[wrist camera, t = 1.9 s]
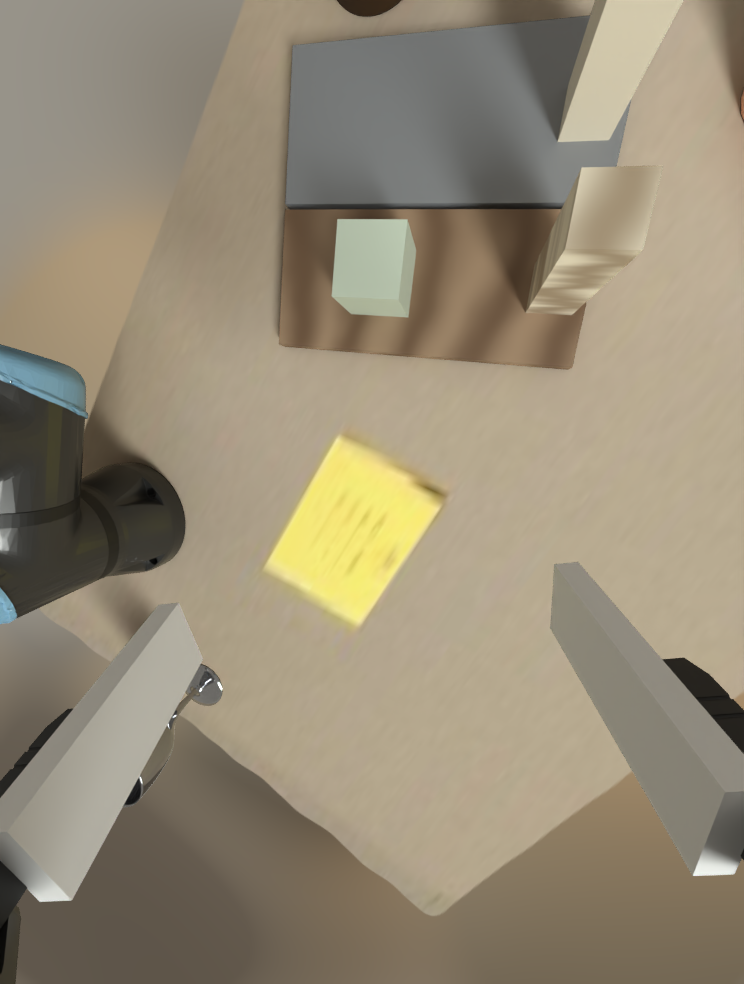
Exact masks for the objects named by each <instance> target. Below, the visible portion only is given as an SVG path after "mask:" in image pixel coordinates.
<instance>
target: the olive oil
mask: <svg viewBox="0 0 744 984" xmlns="http://www.w3.org/2000/svg"><path fill="white" fill-rule="evenodd" d="M400 1H401V0H338V2H339V3H340V4H341V5H342V6H343V7H344V8H345V9H346V10H348V11H349V12H351V13H353V14H356V15H359V16H374V15H378V14H381V13H384V12H386V11H388V10H389V9H391V8H393V7H394V6H395V5H397V4H398V3H399V2H400Z"/></svg>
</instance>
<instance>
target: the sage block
mask: <svg viewBox="0 0 744 984" xmlns="http://www.w3.org/2000/svg"><path fill="white" fill-rule="evenodd" d="M415 258H416V248H415V244H414V241H413V237H412V233H411V230H410V226H409V223H408V219H337V232H336V246H335V259H334V272H333V285H332V297H333V298H334V299H335V300H336V301H337V302H338V303H340V304H341V305H342V306H343V307H344V308H345V309H346V310H347V311H348V312H349V313H351V314H358V315H375V316H392V317H408V316H409V308H410V299H411V291H412V283H413V274H414V266H415Z"/></svg>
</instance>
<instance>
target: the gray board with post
mask: <svg viewBox="0 0 744 984" xmlns="http://www.w3.org/2000/svg"><path fill="white" fill-rule="evenodd" d="M683 1H684V0H595V3H594V6H593V9H592V12H591V15H590V16H580V17H570V18H560V19H550V20H540V21H530V22H520V23H510V24H500V25H491V26H481V27H471V28H461V29H451V30H441V31H431V32H421V33H411V34H401V35H391V36H381V37H371V38H361V39H351V40H341V41H331V42H321V43H311V44H301V45H293V52H292V73H291V95H290V116H289V138H288V159H287V181H286V202H285V204H286V205H287V206H288V208H289V209H290V210H310V209H562V207H563V205H564V203H565V201H566V199H567V197H568V195H569V193H570V191H571V189H572V187H573V184H574V182H575V180H576V178H577V176H578V174H579V172H580V170H581V168H582V167H616V166H617V162H618V157H619V153H620V148H621V143H622V139H623V134H624V130H625V125H626V121H627V116H628V112H629V107H630V103H631V98H632V96H633V94H634V92H635V91H636V89H637V87H638V85H639V83H640V81H641V79H642V77H643V76H644V74H645V72H646V70H647V68H648V66H649V64H650V62H651V61H652V59H653V57H654V55H655V53H656V51H657V49H658V47H659V46H660V44H661V42H662V40H663V38H664V36H665V34H666V32H667V31H668V29H669V27H670V25H671V23H672V21H673V19H674V17H675V16H676V14H677V12H678V10H679V8H680V6H681V4H682V2H683Z"/></svg>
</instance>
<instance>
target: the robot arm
mask: <svg viewBox="0 0 744 984" xmlns="http://www.w3.org/2000/svg"><path fill="white" fill-rule="evenodd" d="M85 400H86V387H85V382H84V380H83V378H82V376H81V375H80V374H79V373H78V372H77V371H76V370H75V369H73V368H71V367H69V366H67V365H65V364H62V363H59V362H56V361H53V360H51V359H47V358H44V357H41V356H38V355H34V354H31V353H28V352H25V351H21V350H17V349H15V348H11V347H8V346H4V345H1V344H0V624H2V623H9V622H11V621H13V620H15V619H16V618H18V617H20V616H23V615H25V614H27V613H29V612H31V611H33V610H35V609H37V608H40V607H42V606H44V605H46V604H48V603H50V602H52V601H54V600H57V599H59V598H61V597H63V596H65V595H67V594H69V593H71V592H74V591H76V590H78V589H80V588H82V587H84V586H86V585H88V584H91V583H93V582H95V581H97V580H99V579H101V578H104V577H106V576H114V575H123V574H131V573H140V572H146V571H149V570H152V569H154V568H157V567H159V566H161V565H163V564H165V563H166V562H168V561H170V560H171V559H172V558H173V557H174V556H175V555H176V554H177V552H178V551H179V549H180V547H181V545H182V542H183V539H184V534H185V517H184V512H183V508H182V505H181V502H180V500H179V498H178V496H177V494H176V492H175V491H174V489H173V488H172V486H171V485H170V484H169V482H168V481H167V480H166V479H165V478H164V477H163V476H162V475H160V474H159V473H158V472H156V471H155V470H153V469H152V468H150V467H148V466H145V465H142V464H138V463H122V464H115V465H110V466H106V467H104V468H101V469H99V470H97V471H96V472H94V473H92V474H90V475H88V476H86V477H85V478H83V479H81V476H82V459H83V441H84V424H85V419H87V418H88V413H87V412H86V409H85V408H86V406H85V405H86V401H85ZM550 628H551V630H552V632H553V634H554V635H555V637H556V639H557V641H558V642H559V644H560V646H561V648H562V649H563V651H564V653H565V655H566V656H567V658H568V660H569V662H570V663H571V665H572V667H573V669H574V670H575V672H576V674H577V675H578V677H579V679H580V681H581V682H582V684H583V686H584V688H585V689H586V691H587V693H588V695H589V696H590V698H591V700H592V702H593V703H594V705H595V707H596V709H597V710H598V712H599V714H600V715H601V717H602V719H603V721H604V722H605V724H606V726H607V728H608V729H609V731H610V733H611V735H612V736H613V738H614V740H615V742H616V743H617V745H618V747H619V749H620V750H621V752H622V754H623V756H624V757H625V759H626V761H627V762H628V764H629V766H630V768H631V769H632V771H633V773H634V774H635V776H636V778H637V780H638V782H639V783H640V785H641V787H642V789H643V790H644V792H645V794H646V796H647V797H648V799H649V801H650V802H651V804H652V806H653V808H654V809H655V811H656V813H657V815H658V816H659V818H660V820H661V822H662V823H663V825H664V827H665V828H666V830H667V832H668V834H669V836H670V837H671V839H672V841H673V842H674V844H675V846H676V848H677V849H678V851H679V853H680V855H681V856H682V858H683V860H684V862H685V863H686V865H687V867H688V869H689V870H690V872H691V874H692V875H693V876H701V875H727V874H735V871H736V869H737V867H738V865H739V863H740V861H741V859H743V860H744V710H743V709H742V708H741V707H740V706H739V705H738V704H737V703H736V702H735V701H734V700H733V699H730V697H729V694H728V693H727V692H726V691H725V690H724V689H723V688H722V687H721V686H720V685H719V684H718V683H717V682H716V681H715V680H714V679H713V678H712V677H711V676H710V675H709V674H708V673H706V672H705V671H703V670H702V669H700V668H699V667H697V666H696V665H694V664H693V663H691V662H690V661H688V660H687V659H685V658H675V659H661V658H660V656H659V655H658V654H657V653H656V652H655V651H654V650H653V648H652V647H651V646H650V645H649V644H648V643H647V641H646V640H645V639H644V638H643V637H642V636H641V634H640V633H639V632H638V631H637V630H636V629H635V627H634V626H633V625H632V624H631V623H630V622H629V621H628V619H627V618H626V617H625V616H624V615H623V614H622V612H621V611H620V610H619V609H618V608H617V607H616V605H615V604H614V603H613V602H612V601H611V600H610V598H609V597H608V596H607V595H606V594H605V593H604V592H603V590H602V589H601V588H600V587H599V586H598V585H597V583H596V582H595V581H594V580H593V579H592V578H591V576H590V575H589V574H588V573H587V572H586V571H585V569H584V568H583V567H582V566H581V565H580V564H579V563H578V562H572V563H563V564H554V576H553V592H552V608H551V624H550ZM202 660H203V658H202V655H201V653H200V651H199V648H198V646H197V644H196V641H195V639H194V637H193V634H192V632H191V630H190V628H189V625H188V623H187V621H186V618H185V616H184V614H183V611H182V609H181V607H180V604H179V603H171V604H161V605H158V606H157V607H156V609H155V610H154V611H153V612H152V613H151V615H150V616H149V617H148V618H147V620H146V621H145V622H144V623H143V624H142V626H141V627H140V628H139V629H138V631H137V632H136V633H135V634H134V635H133V637H132V638H131V639H130V640H129V642H128V643H127V644H126V645H125V646H124V648H123V649H122V650H121V651H120V653H119V654H118V655H117V656H116V657H115V659H114V660H113V661H112V662H111V664H110V665H109V666H108V667H107V668H106V670H105V671H104V672H103V673H102V675H101V676H100V677H99V678H98V679H97V681H96V682H95V683H94V684H93V686H92V687H91V688H90V689H89V690H88V692H87V693H86V694H85V696H84V697H83V698H82V699H81V700H80V702H79V703H78V704H77V705H76V707H75V708H74V709H67V710H66V711H65V712H64V713H63V714H61V715H60V716H59V717H58V718H57V719H55V720H54V721H53V722H52V723H51V724H50V725H48V726H47V727H46V728H45V729H44V731H43V732H42V733H41V734H40V735H39V736H38V738H37V739H36V740H35V741H34V742H33V743H32V745H31V746H30V747H29V750H28V752H25V753H24V754H23V755H22V756H21V758H20V759H19V760H18V761H17V762H16V763H15V765H14V768H13V769H11V770H10V771H9V772H8V773H7V774H6V775H5V776H4V777H3V779H2V780H1V781H0V984H15V982H16V970H17V958H18V946H19V934H20V921H21V916H20V911H19V908H18V907H17V906H16V904H17V903H18V901H19V900H20V898H21V896H22V895H23V893H24V892H25V890H26V889H28V890H29V891H30V892H31V893H32V894H33V895H34V896H35V897H36V898H37V899H38V900H39V901H40V902H43V901H68V900H72V899H73V897H74V895H75V893H76V891H77V889H78V888H79V886H80V884H81V882H82V880H83V879H84V877H85V875H86V873H87V871H88V869H89V868H90V866H91V864H92V862H93V860H94V858H95V857H96V855H97V853H98V851H99V849H100V847H101V846H102V844H103V842H104V840H105V838H106V836H107V835H108V833H109V831H110V829H111V827H112V825H113V824H114V822H115V820H116V818H117V816H118V814H119V813H120V811H121V809H122V807H123V805H124V803H125V802H126V800H127V798H128V796H129V794H130V792H131V791H132V789H133V787H134V785H135V783H136V781H137V780H138V778H139V776H140V774H141V772H142V770H143V769H144V767H145V765H146V763H147V761H148V759H149V758H150V756H151V754H152V752H153V750H154V748H155V747H156V745H157V743H158V741H159V739H160V737H161V736H162V734H163V732H164V730H165V728H166V726H167V725H168V723H169V721H170V719H171V717H172V715H173V714H174V712H175V710H176V708H177V706H178V704H179V703H180V701H181V699H182V697H183V695H184V693H185V692H186V690H187V688H188V686H189V684H190V682H191V681H192V679H193V677H194V675H195V673H196V671H197V670H198V668H199V666H200V664H201V662H202Z"/></svg>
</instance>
